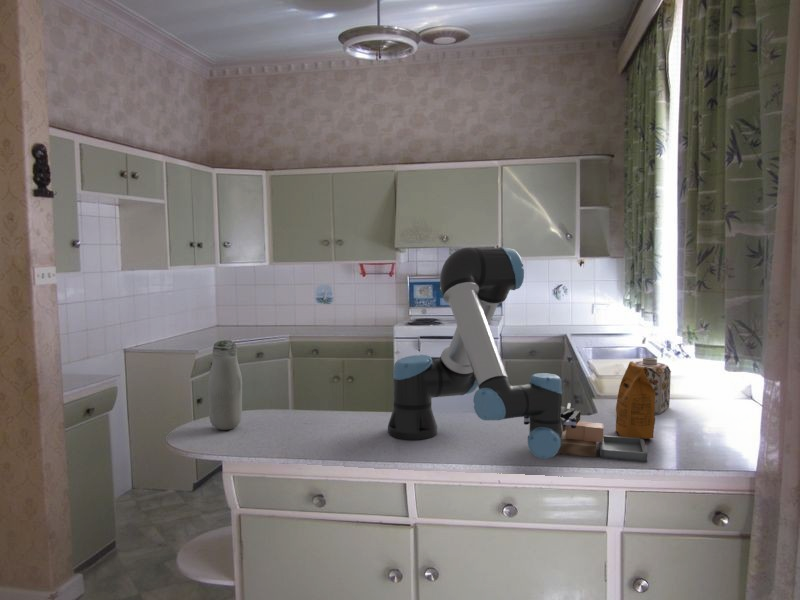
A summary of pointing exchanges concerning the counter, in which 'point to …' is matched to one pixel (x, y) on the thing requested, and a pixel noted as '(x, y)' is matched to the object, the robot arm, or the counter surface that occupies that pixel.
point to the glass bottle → (225, 387)
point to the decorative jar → (658, 382)
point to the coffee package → (635, 404)
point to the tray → (623, 448)
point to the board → (577, 446)
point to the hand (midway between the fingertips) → (553, 406)
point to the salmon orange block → (593, 432)
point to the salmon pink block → (576, 431)
